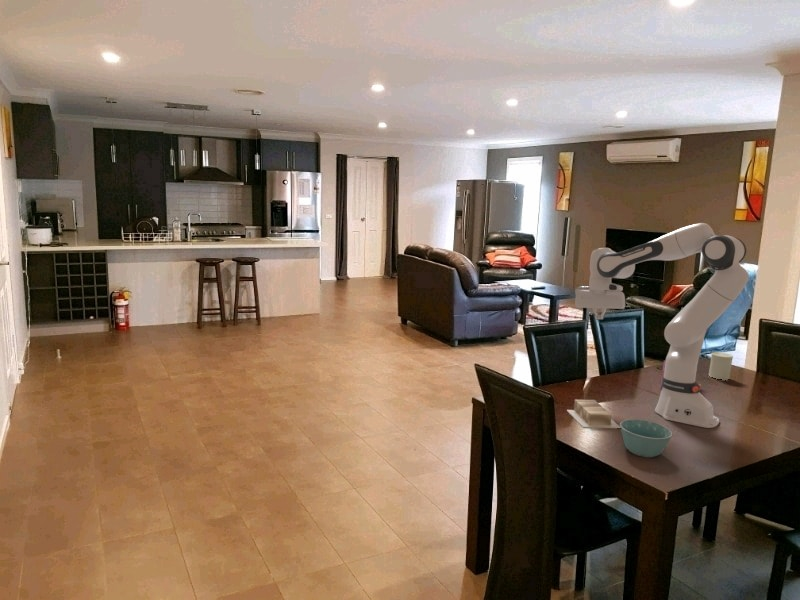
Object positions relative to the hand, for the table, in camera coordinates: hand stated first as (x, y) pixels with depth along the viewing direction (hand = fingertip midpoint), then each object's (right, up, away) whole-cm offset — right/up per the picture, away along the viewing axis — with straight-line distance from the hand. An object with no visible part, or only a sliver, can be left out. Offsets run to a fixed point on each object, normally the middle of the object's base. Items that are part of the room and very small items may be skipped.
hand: (599, 319), depth 248 cm
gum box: (+41, -32, +19) cm, 55 cm away
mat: (-12, -37, -28) cm, 48 cm away
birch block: (-12, -33, -19) cm, 40 cm away
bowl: (-5, -42, -56) cm, 70 cm away
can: (+71, -30, +37) cm, 85 cm away
